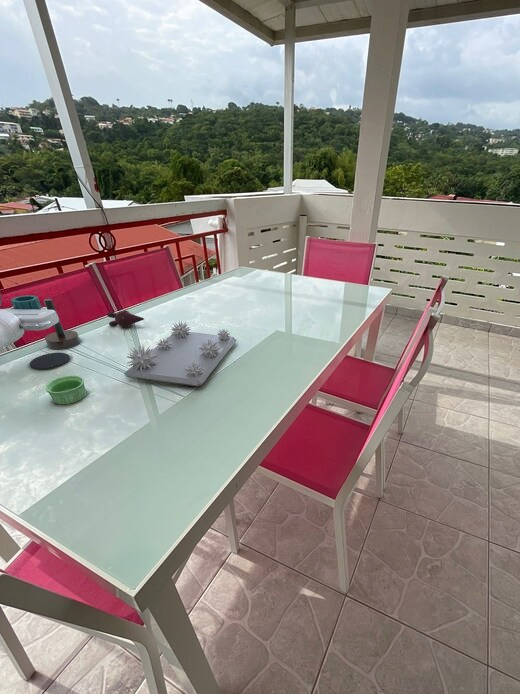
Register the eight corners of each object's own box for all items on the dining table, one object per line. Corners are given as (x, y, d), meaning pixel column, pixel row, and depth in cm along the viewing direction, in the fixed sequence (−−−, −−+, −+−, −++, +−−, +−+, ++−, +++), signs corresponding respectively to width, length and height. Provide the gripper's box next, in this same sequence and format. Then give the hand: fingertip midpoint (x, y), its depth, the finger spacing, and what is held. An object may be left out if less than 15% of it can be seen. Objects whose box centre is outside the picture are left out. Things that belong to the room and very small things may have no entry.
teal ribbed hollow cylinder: (18, 330, 98) (5, 302, 94) (30, 322, 104) (18, 295, 99) (41, 330, 99) (30, 302, 94) (52, 322, 104) (42, 295, 100)
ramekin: (66, 386, 97) (60, 373, 94) (95, 389, 96) (90, 377, 94) (43, 404, 90) (37, 390, 87) (74, 407, 89) (69, 394, 87)
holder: (42, 349, 115) (22, 304, 106) (56, 337, 123) (39, 294, 114) (73, 349, 116) (56, 305, 107) (85, 337, 124) (70, 295, 115)
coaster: (22, 370, 103) (22, 368, 103) (41, 354, 112) (40, 352, 112) (60, 369, 105) (60, 368, 104) (76, 354, 114) (75, 352, 113)
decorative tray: (201, 391, 99) (197, 362, 93) (121, 380, 101) (112, 351, 96) (237, 343, 127) (236, 318, 122) (174, 335, 130) (170, 311, 124)
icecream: (146, 309, 135) (111, 309, 136) (137, 310, 128) (100, 311, 129) (149, 326, 137) (115, 326, 138) (140, 328, 130) (104, 329, 131)
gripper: (39, 315, 87) (64, 299, 99) (-47, 315, 85) (-11, 298, 96) (48, 338, 91) (71, 319, 102) (-34, 337, 89) (-1, 319, 100)
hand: (30, 309), depth 99 cm, fingers closed on teal ribbed hollow cylinder, 6 cm apart
